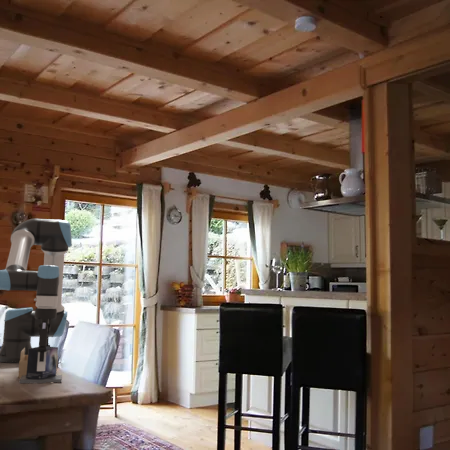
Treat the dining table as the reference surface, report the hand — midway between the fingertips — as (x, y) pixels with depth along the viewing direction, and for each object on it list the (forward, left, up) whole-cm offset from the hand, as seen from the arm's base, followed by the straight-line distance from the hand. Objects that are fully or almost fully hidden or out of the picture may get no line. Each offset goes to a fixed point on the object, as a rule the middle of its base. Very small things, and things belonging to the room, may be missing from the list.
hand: (42, 368), depth 197 cm
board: (0, 0, -4) cm, 4 cm away
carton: (-16, -2, -4) cm, 17 cm away
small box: (0, 0, -3) cm, 3 cm away
